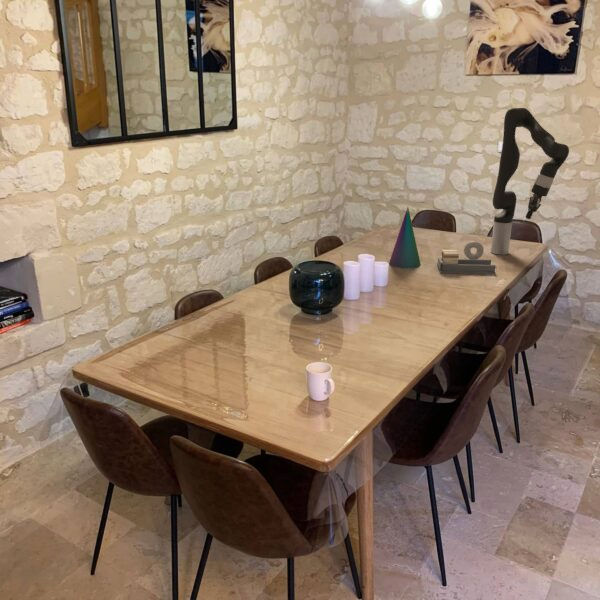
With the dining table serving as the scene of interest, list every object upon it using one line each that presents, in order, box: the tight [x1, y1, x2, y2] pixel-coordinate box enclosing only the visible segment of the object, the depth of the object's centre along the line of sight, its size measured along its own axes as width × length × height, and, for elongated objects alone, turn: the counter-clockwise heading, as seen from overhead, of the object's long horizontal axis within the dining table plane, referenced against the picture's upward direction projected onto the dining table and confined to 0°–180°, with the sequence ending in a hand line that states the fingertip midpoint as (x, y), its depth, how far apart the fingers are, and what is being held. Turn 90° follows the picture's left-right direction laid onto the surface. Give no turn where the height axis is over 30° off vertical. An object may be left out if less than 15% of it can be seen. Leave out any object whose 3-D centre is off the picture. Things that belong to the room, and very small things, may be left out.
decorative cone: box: [388, 206, 422, 269], centre depth 296 cm, size 16×16×30 cm
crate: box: [440, 249, 460, 264], centre depth 289 cm, size 7×7×8 cm
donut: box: [463, 240, 485, 259], centre depth 306 cm, size 10×4×10 cm, turn 76°
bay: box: [436, 256, 497, 275], centre depth 289 cm, size 14×26×5 cm, turn 85°
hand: (527, 218), depth 288 cm, fingers closed
